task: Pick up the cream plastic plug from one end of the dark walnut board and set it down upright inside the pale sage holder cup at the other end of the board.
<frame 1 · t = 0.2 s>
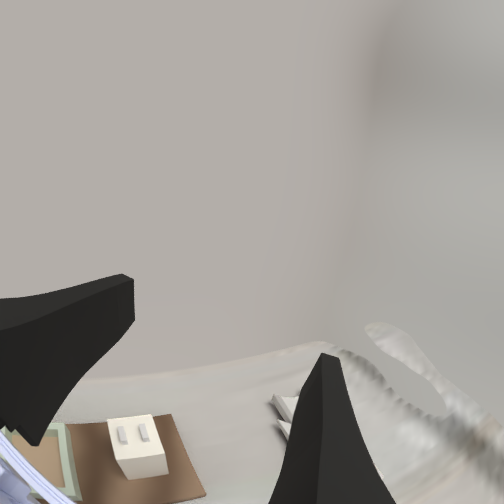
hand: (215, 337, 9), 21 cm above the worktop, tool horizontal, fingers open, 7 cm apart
holder: (43, 467, 14), resting on board
board: (91, 468, 17), on the worktop
plug: (142, 460, 19), point 1 cm above the worktop, touching board
gun: (315, 459, 24), on the worktop
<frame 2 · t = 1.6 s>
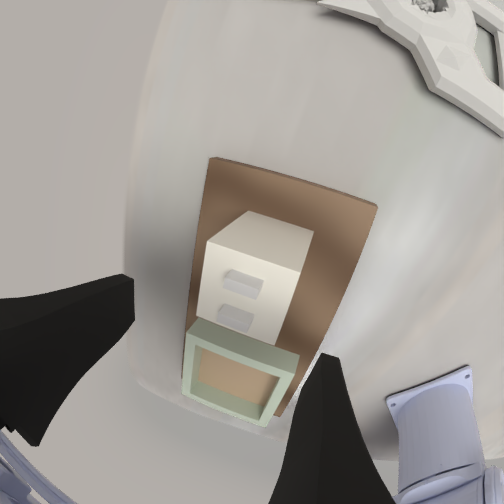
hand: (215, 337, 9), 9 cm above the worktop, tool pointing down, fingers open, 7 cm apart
holder: (242, 362, 22), resting on board
board: (256, 313, 20), on the worktop
plug: (272, 251, 17), point 1 cm above the worktop, touching board
gun: (418, 22, 10), on the worktop
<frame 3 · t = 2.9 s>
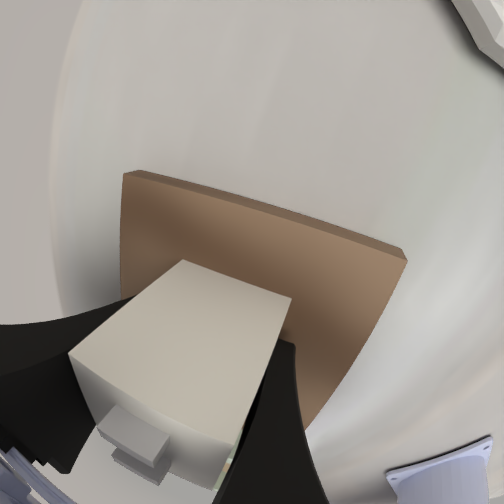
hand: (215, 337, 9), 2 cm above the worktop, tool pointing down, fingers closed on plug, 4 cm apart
board: (216, 388, 13), on the worktop
plug: (225, 323, 10), point 1 cm above the worktop, touching board, gripper
when the fingers open (4 cm above the worktop, at t = 5.9 s): plug drops 2 cm, resting on holder.
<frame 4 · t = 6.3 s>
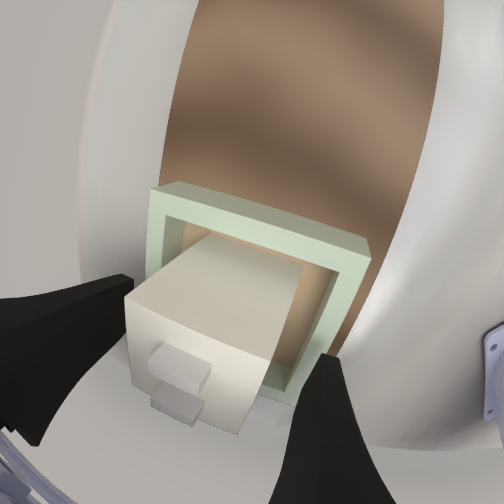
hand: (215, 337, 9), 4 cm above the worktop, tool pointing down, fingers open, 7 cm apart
holder: (252, 281, 13), resting on board
board: (281, 166, 11), on the worktop
plug: (245, 289, 12), point 1 cm above the worktop, touching holder
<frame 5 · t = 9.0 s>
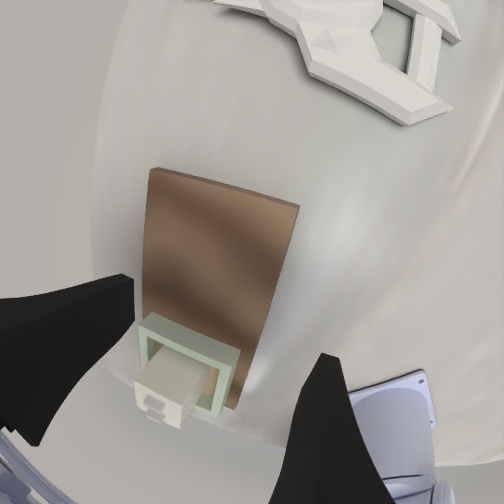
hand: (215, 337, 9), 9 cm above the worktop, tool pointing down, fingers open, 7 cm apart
holder: (195, 355, 24), resting on board
board: (201, 309, 22), on the worktop
plug: (189, 362, 23), point 1 cm above the worktop, touching holder
gun: (323, 11, 12), on the worktop
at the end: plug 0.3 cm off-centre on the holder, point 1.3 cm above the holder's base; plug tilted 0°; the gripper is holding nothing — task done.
